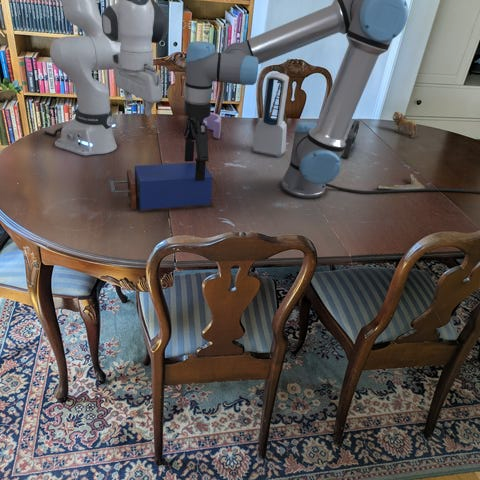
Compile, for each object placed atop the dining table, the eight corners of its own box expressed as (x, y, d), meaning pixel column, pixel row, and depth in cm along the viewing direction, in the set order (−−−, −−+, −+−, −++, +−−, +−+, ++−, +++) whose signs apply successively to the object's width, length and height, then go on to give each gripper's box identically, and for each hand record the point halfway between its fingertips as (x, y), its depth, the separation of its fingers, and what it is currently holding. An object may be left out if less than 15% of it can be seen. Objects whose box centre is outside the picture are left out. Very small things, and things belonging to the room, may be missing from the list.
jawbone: (429, 189, 172) (431, 184, 171) (394, 201, 161) (396, 196, 160) (410, 177, 177) (412, 172, 176) (375, 189, 167) (376, 184, 165)
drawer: (112, 210, 136) (111, 185, 131) (109, 195, 143) (107, 170, 139) (198, 203, 144) (199, 179, 139) (191, 189, 151) (192, 166, 147)
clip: (182, 123, 206) (183, 107, 202) (209, 122, 210) (210, 106, 207) (197, 140, 191) (197, 123, 187) (225, 138, 195) (226, 122, 191)
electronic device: (285, 152, 188) (297, 76, 172) (280, 158, 182) (292, 80, 166) (256, 146, 191) (264, 70, 175) (250, 152, 185) (258, 74, 168)
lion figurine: (387, 130, 224) (392, 111, 219) (391, 127, 228) (397, 109, 223) (416, 139, 217) (422, 120, 212) (420, 136, 220) (426, 118, 215)
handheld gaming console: (349, 160, 187) (354, 136, 182) (342, 158, 188) (347, 134, 183) (355, 142, 206) (361, 119, 201) (349, 140, 207) (354, 118, 201)
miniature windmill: (283, 131, 209) (293, 61, 193) (265, 128, 210) (273, 58, 194) (285, 124, 217) (296, 57, 200) (268, 122, 218) (276, 54, 201)
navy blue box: (140, 212, 138) (139, 181, 133) (135, 195, 147) (134, 165, 141) (210, 206, 145) (212, 176, 140) (201, 190, 154) (203, 162, 148)
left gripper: (168, 68, 124) (168, 119, 132) (128, 52, 137) (130, 100, 144) (147, 70, 121) (148, 122, 128) (108, 54, 133) (111, 102, 140)
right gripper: (223, 115, 123) (217, 188, 134) (199, 88, 142) (196, 153, 154) (195, 116, 120) (191, 189, 132) (175, 88, 140) (173, 154, 151)
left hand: (138, 110), depth 136 cm, fingers open, 8 cm apart
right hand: (194, 170), depth 143 cm, fingers open, 13 cm apart
